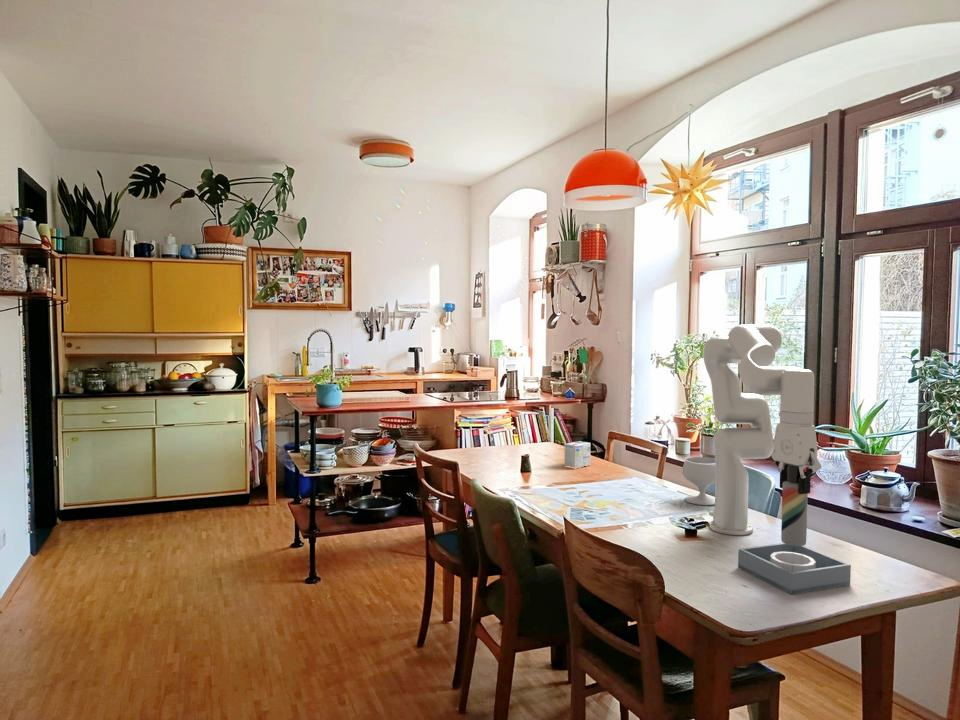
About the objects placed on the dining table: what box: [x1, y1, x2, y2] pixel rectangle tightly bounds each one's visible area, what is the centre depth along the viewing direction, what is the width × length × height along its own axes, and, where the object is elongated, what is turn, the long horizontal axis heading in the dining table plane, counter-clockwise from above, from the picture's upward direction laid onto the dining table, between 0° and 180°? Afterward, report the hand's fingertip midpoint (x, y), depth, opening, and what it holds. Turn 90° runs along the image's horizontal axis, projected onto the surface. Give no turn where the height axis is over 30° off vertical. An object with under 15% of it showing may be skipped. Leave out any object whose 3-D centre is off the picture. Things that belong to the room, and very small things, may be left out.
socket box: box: [737, 542, 852, 596], centre depth 163 cm, size 18×18×5 cm
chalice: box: [681, 456, 716, 506], centre depth 233 cm, size 14×14×15 cm
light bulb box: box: [563, 440, 591, 468], centre depth 290 cm, size 11×7×11 cm, turn 130°
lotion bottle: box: [780, 464, 809, 546], centre depth 162 cm, size 6×6×20 cm
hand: (794, 489), depth 162 cm, fingers closed on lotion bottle, 5 cm apart
